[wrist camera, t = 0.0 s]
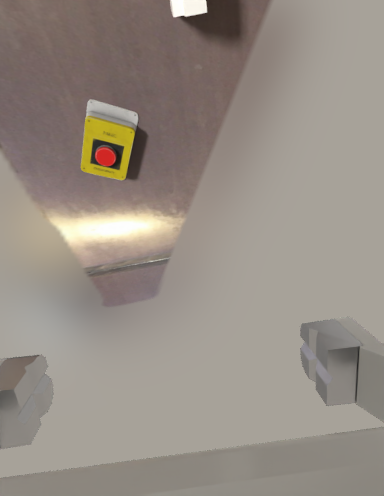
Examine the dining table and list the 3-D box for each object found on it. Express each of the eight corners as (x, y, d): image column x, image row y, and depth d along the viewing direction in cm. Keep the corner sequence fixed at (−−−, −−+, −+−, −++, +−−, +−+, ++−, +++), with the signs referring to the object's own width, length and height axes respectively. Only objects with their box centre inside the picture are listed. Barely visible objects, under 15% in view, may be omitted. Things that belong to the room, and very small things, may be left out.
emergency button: (77, 180, 60) (84, 105, 51) (81, 169, 64) (88, 96, 54) (124, 190, 63) (139, 121, 54) (125, 179, 66) (139, 112, 57)
